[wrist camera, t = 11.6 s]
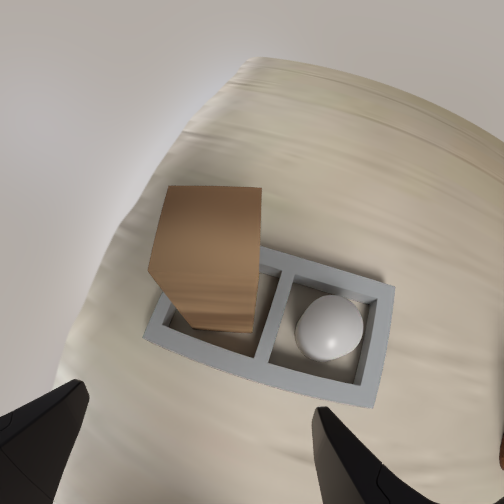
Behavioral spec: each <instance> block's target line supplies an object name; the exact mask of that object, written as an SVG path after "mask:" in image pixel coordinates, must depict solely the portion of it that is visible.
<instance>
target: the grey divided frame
mask: <svg viewBox="0 0 504 504" xmlns="http://www.w3.org/2000/svg"><path fill="white" fill-rule="evenodd" d="M259 272H261V273H264V274H267V275H271V276H274V277H277V278H280V280H279V283H278V286H277V290H276V293H275V296H274V299H273V302H272V305H271V308H270V311H269V315H268V318H267V321H266V324H265V327H264V330H263V333H262V336H261V339H260V342H259V345H258V348H257V351H256V354H255V357H254V358H251V357H248V356H244V355H241V354H238V353H235V352H232V351H229V350H227V349H224V348H221V347H218V346H215V345H212V344H210V343H207V342H204V341H202V340H199V339H196V338H194V337H191V336H188V335H186V334H183V333H181V332H178V331H176V330H173V329H171V328H168V327H169V324H170V322H171V319H172V317H173V315H174V312H175V310H176V307H175V306H174V305H173V303H172V302H171V301H170V300H169V298H168V297H167V296H166V294H165V293H164V292H162V294H161V296H160V298H159V300H158V303H157V305H156V307H155V309H154V312H153V314H152V316H151V319H150V321H149V323H148V326H147V328H146V330H145V333H144V335H143V337H142V338H144V339H145V340H147V341H149V342H151V343H153V344H155V345H158V346H160V347H162V348H165V349H167V350H169V351H172V352H174V353H176V354H179V355H181V356H184V357H186V358H189V359H191V360H194V361H196V362H199V363H202V364H204V365H207V366H210V367H212V368H215V369H218V370H221V371H224V372H226V373H229V374H232V375H235V376H238V377H241V378H244V379H247V380H251V381H254V382H257V383H260V384H264V385H267V386H271V387H274V388H278V389H281V390H285V391H289V392H293V393H296V394H300V395H304V396H309V397H313V398H317V399H322V400H326V401H331V402H336V403H341V404H346V405H351V406H357V407H363V408H373V407H374V403H375V399H376V396H377V392H378V388H379V383H380V379H381V375H382V370H383V365H384V360H385V355H386V350H387V344H388V338H389V332H390V326H391V319H392V311H393V303H394V294H395V286H392V285H388V284H385V283H382V282H379V281H375V280H372V279H369V278H366V277H362V276H359V275H356V274H353V273H349V272H346V271H343V270H340V269H336V268H333V267H330V266H326V265H323V264H320V263H317V262H313V261H310V260H307V259H303V258H300V257H297V256H293V255H290V254H287V253H283V252H280V251H277V250H273V249H270V248H267V247H263V246H260V259H259ZM293 282H294V283H297V284H300V285H304V286H307V287H310V288H314V289H317V290H321V291H324V292H327V293H331V294H334V295H327V296H323V297H320V298H318V299H316V300H315V301H314V302H312V303H311V304H310V306H309V307H308V308H307V310H306V311H305V312H304V314H303V315H302V316H301V318H300V319H299V321H298V323H297V325H296V329H295V340H296V343H297V346H298V348H299V349H300V351H301V352H302V353H303V354H304V355H305V356H306V357H308V358H309V359H311V360H314V361H318V362H326V361H330V360H333V359H336V358H338V357H341V356H344V355H346V354H348V353H350V352H351V351H352V350H354V349H355V348H356V346H357V345H358V344H359V342H360V340H361V337H362V334H363V320H362V317H361V314H360V312H359V310H358V309H357V307H356V306H355V305H354V304H353V303H352V302H351V301H349V300H348V299H351V300H355V301H358V302H362V303H365V304H369V305H370V308H369V314H368V319H367V325H366V330H365V335H364V340H363V345H362V350H361V354H360V359H359V363H358V367H357V372H356V376H355V380H354V383H353V384H348V383H344V382H339V381H335V380H330V379H326V378H322V377H318V376H314V375H310V374H306V373H302V372H298V371H295V370H291V369H287V368H284V367H280V366H277V365H273V364H270V363H268V361H269V358H270V355H271V352H272V349H273V345H274V342H275V339H276V336H277V333H278V330H279V326H280V323H281V320H282V317H283V313H284V310H285V307H286V303H287V300H288V297H289V293H290V290H291V286H292V283H293ZM337 295H338V296H337ZM346 298H348V299H346Z"/></svg>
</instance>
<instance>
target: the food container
mask: <svg viewBox="0 0 504 504" xmlns="http://www.w3.org/2000/svg"><path fill="white" fill-rule="evenodd" d="M499 460H500V466H501V468H502V470H504V434H503V438H502V442H501V446H500V455H499Z"/></svg>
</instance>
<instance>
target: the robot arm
mask: <svg viewBox="0 0 504 504" xmlns="http://www.w3.org/2000/svg"><path fill="white" fill-rule="evenodd" d="M88 402H89V393H88V391H87V389H86V386H85V384H84V382H83V381H81V380H77V379H73V380H71V381H69V382H67V383H66V384H64V385H62V386H60V387H58V388H56V389H54V390H52V391H51V392H49V393H47V394H45V395H43V396H41V397H39V398H37V399H35V400H33V401H32V402H29V403H27V404H26V405H24V406H22V407H20V408H18V409H16V410H14V411H12V412H10V413H8V414H6V415H4V416H1V417H0V504H53V500H54V497H55V494H56V491H57V488H58V485H59V483H60V480H61V477H62V474H63V471H64V469H65V466H66V463H67V461H68V458H69V456H70V453H71V451H72V448H73V446H74V443H75V441H76V438H77V436H78V433H79V431H80V428H81V425H82V422H83V419H84V415H85V412H86V409H87V406H88ZM312 437H313V451H314V461H315V466H316V471H317V476H318V481H319V486H320V491H321V496H322V501H323V504H439V503H436V502H433V501H431V500H429V499H427V498H426V497H424V496H423V495H421V494H420V493H418V492H417V491H416V490H414V489H413V488H411V487H410V486H408V485H407V484H406V483H404V482H403V481H402V480H401V479H399V478H398V477H397V476H396V475H395V474H393V473H392V472H391V471H390V470H389V469H388V468H387V467H386V466H385V465H384V464H382V462H381V461H380V460H379V459H378V458H377V457H376V456H375V455H374V454H373V453H372V452H371V451H370V450H369V449H368V448H367V447H366V446H365V445H364V444H363V443H362V442H361V441H360V440H359V439H358V438H357V437H356V436H355V435H354V434H353V433H352V432H351V431H350V430H349V429H348V428H347V427H346V426H345V425H344V424H343V423H342V421H341V420H340V419H339V418H338V417H337V416H336V415H335V414H334V413H333V412H332V411H331V410H330V409H329V408H328V407H317V408H316V409H315V412H314V416H313V419H312ZM494 504H504V497H503V498H501V499H500V500H499V501H497V502H496V503H494Z"/></svg>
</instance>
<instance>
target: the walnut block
mask: <svg viewBox="0 0 504 504" xmlns="http://www.w3.org/2000/svg"><path fill="white" fill-rule="evenodd" d="M261 194H262V188H254V187H228V186H169V187H168V190H167V194H166V197H165V201H164V204H163V208H162V212H161V216H160V220H159V223H158V227H157V232H156V236H155V240H154V244H153V248H152V253H151V257H150V262H149V267H148V272H149V273H150V274H151V276H152V277H153V278H154V280H155V281H156V282H157V284H158V285H159V286H160V288H161V289H162V290H163V292H164V293H165V294H166V296H167V297H168V298H169V300H170V301H171V302H172V303H173V305H174V306H175V307H176V308H177V310H178V311H179V312H180V313H181V315H182V316H183V317H184V318H185V320H186V321H187V322H188V323H189V325H190V326H191V327H192V328H193V329H196V330H209V331H222V332H239V333H252V331H253V322H254V314H255V306H256V297H257V289H258V280H259V259H260V228H261Z"/></svg>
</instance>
